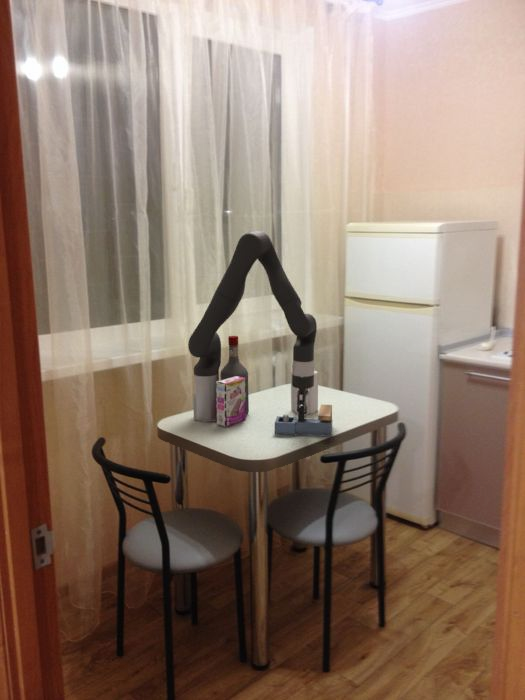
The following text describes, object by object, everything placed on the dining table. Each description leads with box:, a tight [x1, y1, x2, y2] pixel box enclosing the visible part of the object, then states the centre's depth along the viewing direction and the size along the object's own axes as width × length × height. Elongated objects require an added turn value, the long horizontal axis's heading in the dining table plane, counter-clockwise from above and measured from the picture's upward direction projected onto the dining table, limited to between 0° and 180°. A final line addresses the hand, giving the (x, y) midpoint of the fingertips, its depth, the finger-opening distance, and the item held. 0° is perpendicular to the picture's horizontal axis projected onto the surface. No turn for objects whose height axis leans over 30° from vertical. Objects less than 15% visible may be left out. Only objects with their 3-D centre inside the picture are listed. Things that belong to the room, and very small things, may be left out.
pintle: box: [282, 414, 290, 422], centre depth 223 cm, size 2×2×6 cm
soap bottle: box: [290, 370, 319, 415], centre depth 246 cm, size 10×9×22 cm
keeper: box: [317, 404, 333, 421], centre depth 222 cm, size 4×13×8 cm, turn 171°
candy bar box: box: [216, 376, 247, 428], centre depth 233 cm, size 11×5×16 cm, turn 141°
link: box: [274, 415, 333, 437], centre depth 222 cm, size 20×7×4 cm, turn 81°
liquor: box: [219, 335, 250, 415], centre depth 242 cm, size 9×9×30 cm
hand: (302, 418), depth 222 cm, fingers open, 8 cm apart
